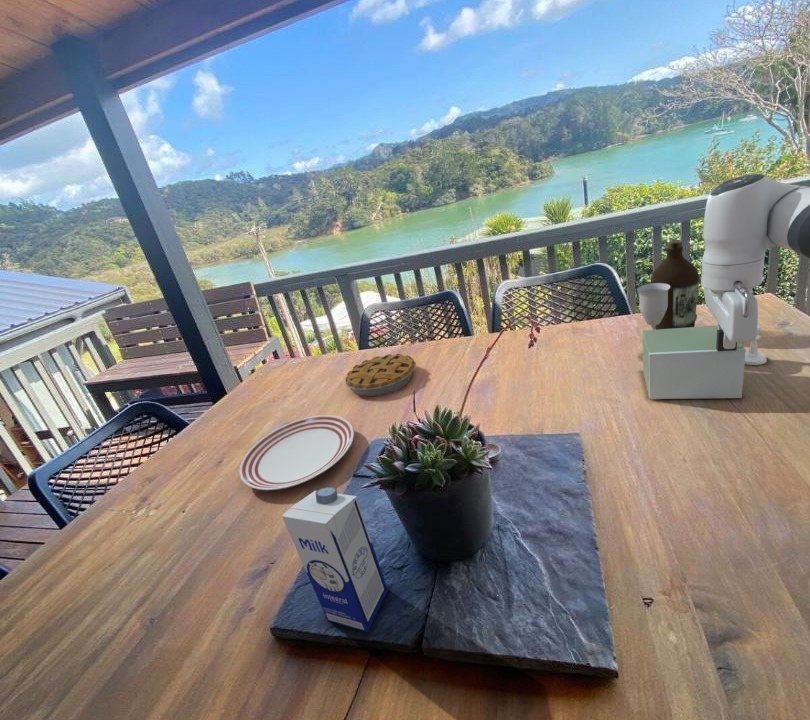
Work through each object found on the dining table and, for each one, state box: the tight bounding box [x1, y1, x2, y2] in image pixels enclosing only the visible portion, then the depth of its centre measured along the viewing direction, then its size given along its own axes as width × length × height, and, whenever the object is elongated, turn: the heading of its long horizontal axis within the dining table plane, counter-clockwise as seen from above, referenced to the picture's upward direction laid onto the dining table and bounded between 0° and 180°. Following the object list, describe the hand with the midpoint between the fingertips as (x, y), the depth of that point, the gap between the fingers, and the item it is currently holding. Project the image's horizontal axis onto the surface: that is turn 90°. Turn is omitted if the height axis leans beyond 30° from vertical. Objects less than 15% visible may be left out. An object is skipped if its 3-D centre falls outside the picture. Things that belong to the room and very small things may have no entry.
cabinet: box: [642, 324, 744, 397], centre depth 93 cm, size 12×16×11 cm
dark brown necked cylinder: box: [649, 240, 700, 330], centre depth 112 cm, size 11×11×25 cm
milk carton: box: [281, 486, 389, 633], centre depth 60 cm, size 7×7×20 cm
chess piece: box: [745, 325, 768, 366], centre depth 96 cm, size 5×5×10 cm
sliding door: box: [648, 330, 747, 400], centre depth 87 cm, size 1×16×15 cm, turn 69°
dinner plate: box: [239, 414, 355, 491], centre depth 103 cm, size 27×27×3 cm
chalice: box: [636, 283, 670, 359], centre depth 105 cm, size 7×7×18 cm
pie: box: [344, 353, 417, 397], centre depth 132 cm, size 22×22×5 cm
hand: (726, 344), depth 83 cm, fingers closed on sliding door
